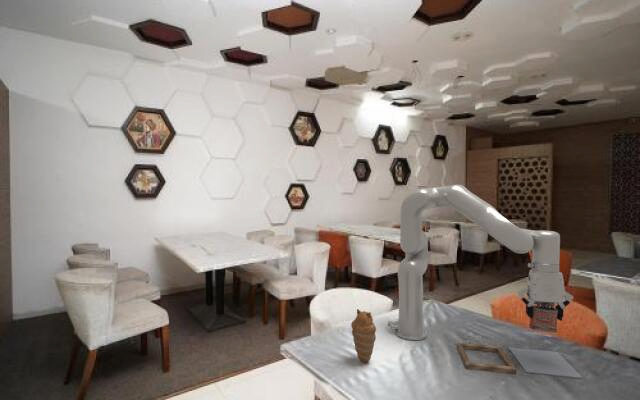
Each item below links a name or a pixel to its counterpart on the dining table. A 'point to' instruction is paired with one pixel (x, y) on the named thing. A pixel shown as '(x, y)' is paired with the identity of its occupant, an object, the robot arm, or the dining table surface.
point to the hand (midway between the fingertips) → (544, 317)
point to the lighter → (544, 317)
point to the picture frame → (486, 367)
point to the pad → (544, 363)
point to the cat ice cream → (363, 335)
